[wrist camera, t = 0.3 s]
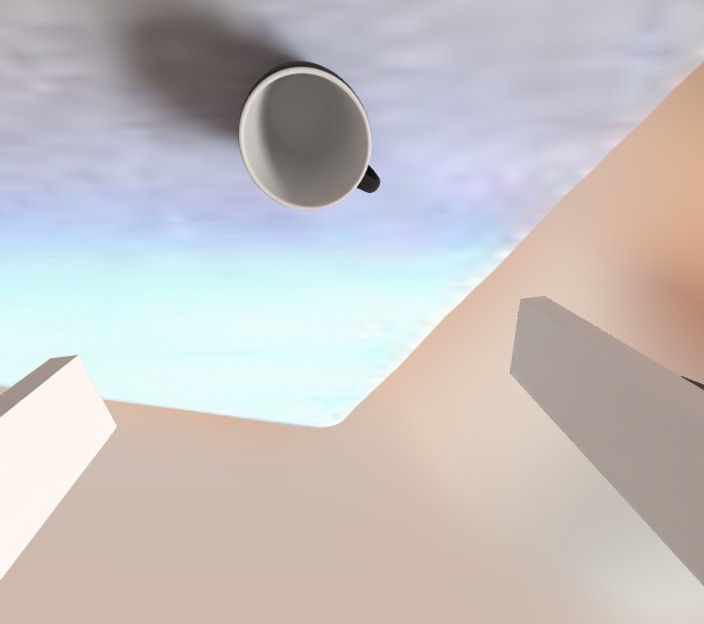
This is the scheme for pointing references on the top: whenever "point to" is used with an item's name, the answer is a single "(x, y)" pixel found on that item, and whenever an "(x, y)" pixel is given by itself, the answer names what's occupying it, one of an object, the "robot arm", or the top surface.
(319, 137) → the mug
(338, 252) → the top surface
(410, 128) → the top surface
